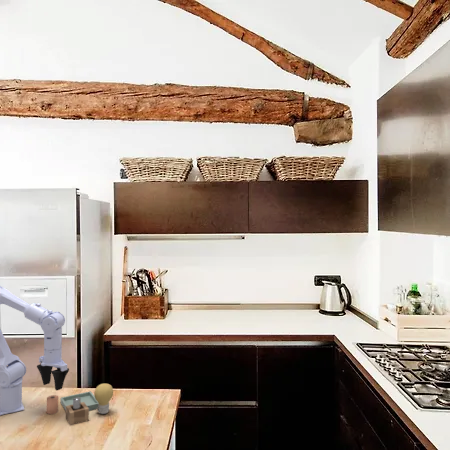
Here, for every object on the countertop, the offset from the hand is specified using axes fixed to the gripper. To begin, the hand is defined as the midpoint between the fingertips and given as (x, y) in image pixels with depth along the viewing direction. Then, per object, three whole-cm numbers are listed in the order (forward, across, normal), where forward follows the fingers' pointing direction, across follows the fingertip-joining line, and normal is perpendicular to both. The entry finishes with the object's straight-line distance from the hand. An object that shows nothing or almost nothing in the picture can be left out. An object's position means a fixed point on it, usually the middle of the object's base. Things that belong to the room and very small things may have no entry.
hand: (52, 386), depth 145 cm
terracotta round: (+9, 0, 0) cm, 9 cm away
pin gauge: (+9, +11, +2) cm, 15 cm away
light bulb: (+9, +14, +11) cm, 20 cm away
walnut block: (+9, +11, +2) cm, 15 cm away
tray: (+9, +3, +9) cm, 13 cm away
